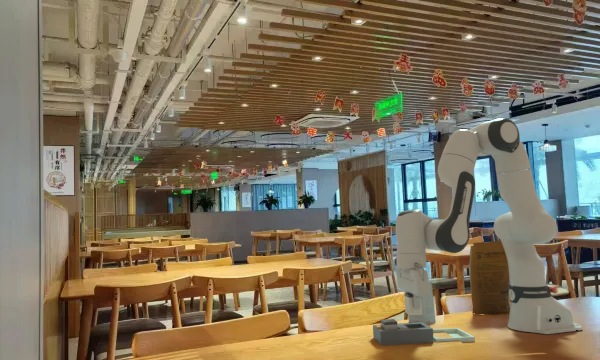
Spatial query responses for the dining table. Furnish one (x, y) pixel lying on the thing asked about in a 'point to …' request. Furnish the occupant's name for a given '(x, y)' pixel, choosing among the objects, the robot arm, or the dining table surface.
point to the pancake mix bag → (489, 278)
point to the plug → (411, 305)
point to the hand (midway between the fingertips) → (413, 307)
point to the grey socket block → (404, 334)
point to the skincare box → (425, 310)
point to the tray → (454, 335)
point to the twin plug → (389, 324)
